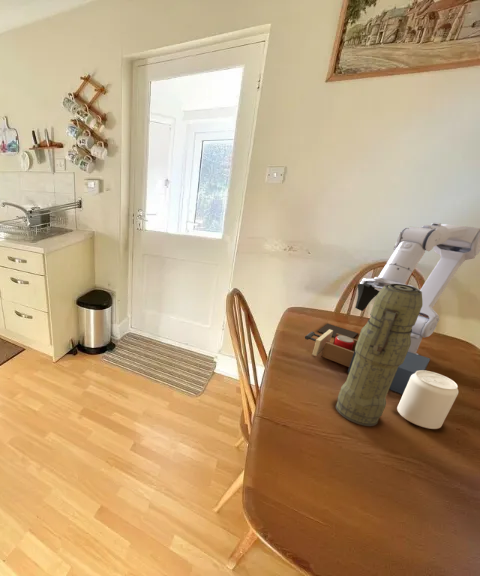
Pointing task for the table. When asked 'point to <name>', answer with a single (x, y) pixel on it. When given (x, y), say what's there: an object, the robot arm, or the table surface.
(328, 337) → the drawer
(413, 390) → the white cylinder
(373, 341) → the thermos
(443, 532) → the table surface
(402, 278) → the robot arm
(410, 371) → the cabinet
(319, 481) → the table surface
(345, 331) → the dark brown flat plate
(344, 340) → the red can
